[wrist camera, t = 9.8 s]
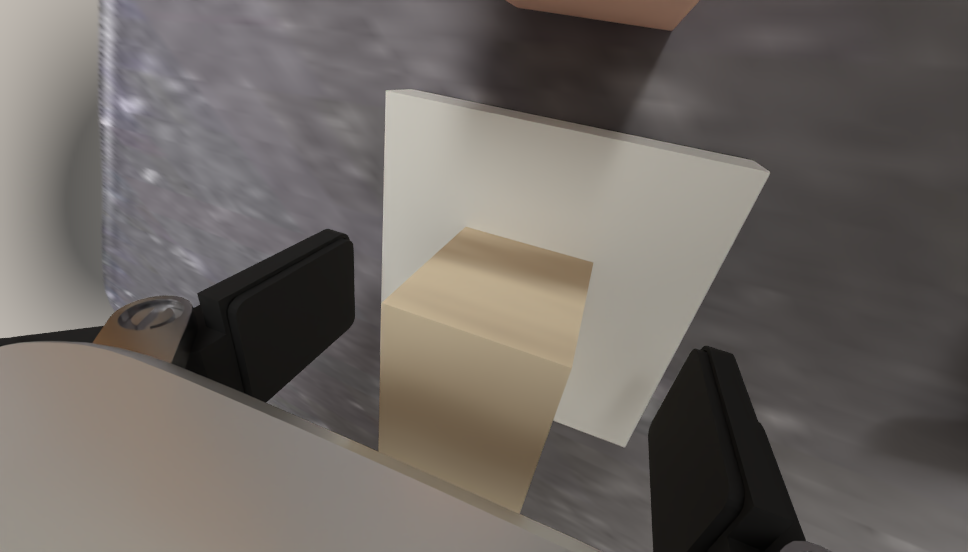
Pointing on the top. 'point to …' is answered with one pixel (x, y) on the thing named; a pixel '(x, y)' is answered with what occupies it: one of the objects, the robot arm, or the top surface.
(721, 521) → the robot arm
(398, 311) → the beech brick
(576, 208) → the base plate
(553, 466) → the top surface
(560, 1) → the clay brick
